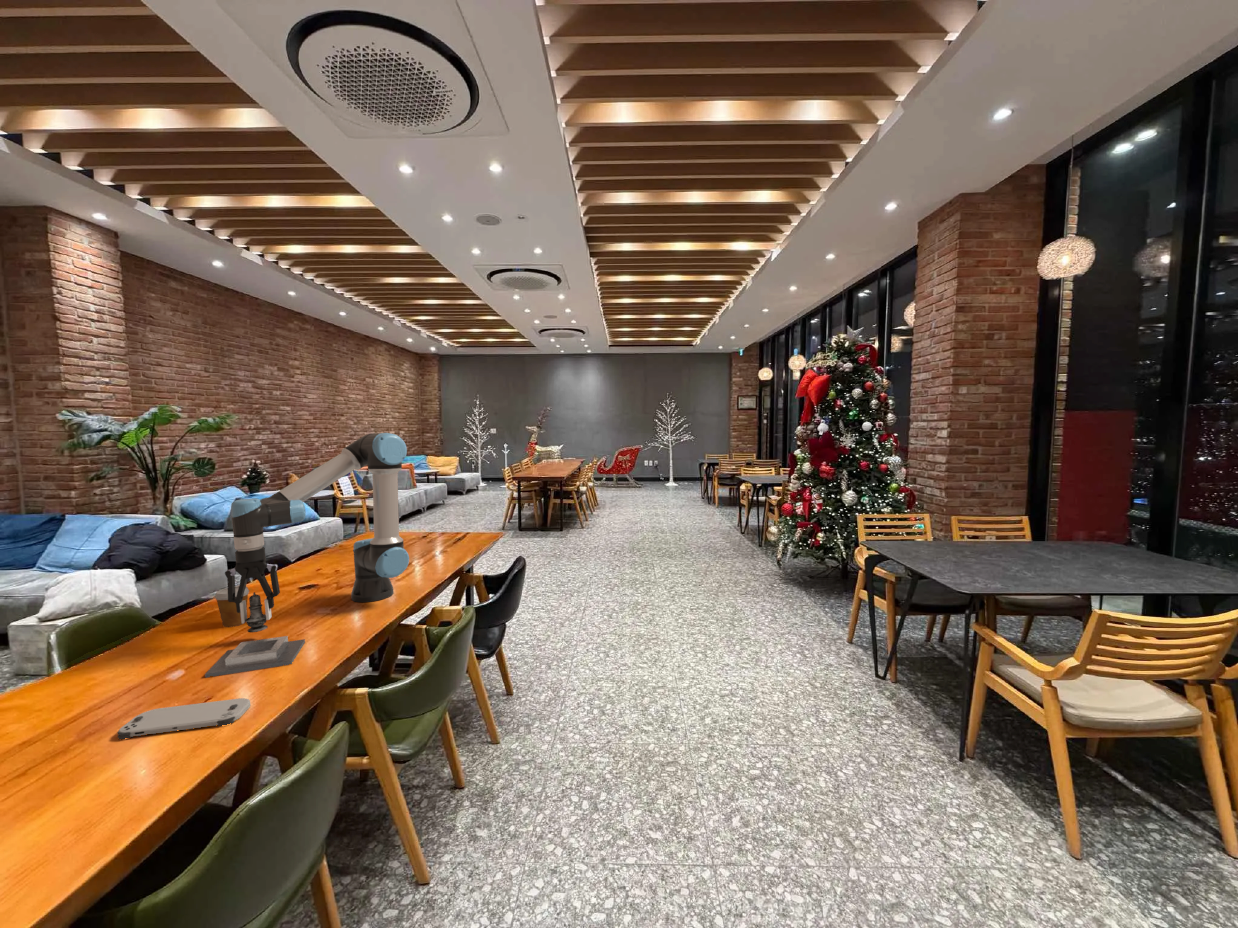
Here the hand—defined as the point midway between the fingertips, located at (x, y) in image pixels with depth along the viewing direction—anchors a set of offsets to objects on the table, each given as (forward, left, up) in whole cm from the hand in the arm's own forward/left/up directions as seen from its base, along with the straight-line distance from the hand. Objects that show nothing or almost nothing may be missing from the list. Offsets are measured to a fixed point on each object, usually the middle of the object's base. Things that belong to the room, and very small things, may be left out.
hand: (256, 619), depth 160 cm
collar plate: (-5, +16, -6) cm, 18 cm away
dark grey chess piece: (0, 0, -3) cm, 3 cm away
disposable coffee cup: (+12, -20, -7) cm, 24 cm away
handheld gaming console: (0, +48, -7) cm, 48 cm away
